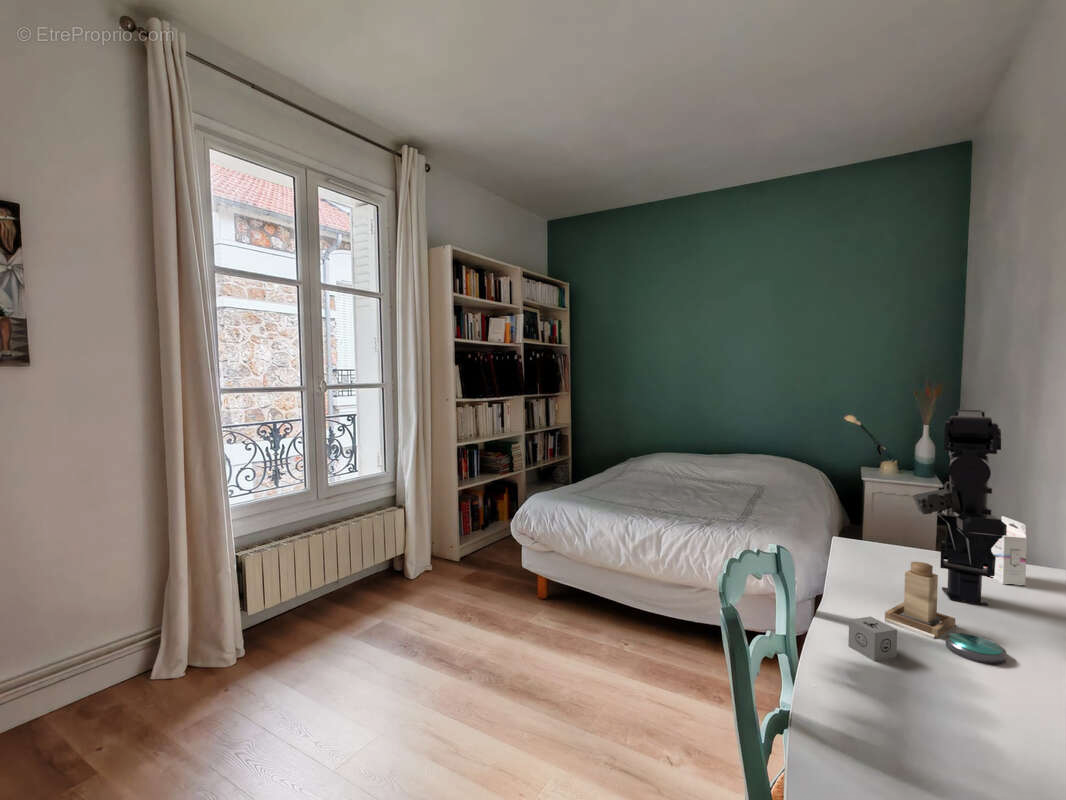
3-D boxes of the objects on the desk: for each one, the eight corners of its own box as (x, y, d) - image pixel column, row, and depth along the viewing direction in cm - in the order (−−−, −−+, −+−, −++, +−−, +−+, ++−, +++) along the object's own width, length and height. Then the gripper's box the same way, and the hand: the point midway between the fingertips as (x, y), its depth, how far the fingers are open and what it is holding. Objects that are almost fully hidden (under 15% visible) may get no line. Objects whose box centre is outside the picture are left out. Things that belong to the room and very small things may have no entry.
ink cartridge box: (977, 571, 126) (979, 514, 125) (1000, 573, 125) (1002, 515, 124) (1002, 584, 118) (1004, 523, 117) (1026, 586, 117) (1029, 524, 116)
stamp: (911, 613, 102) (912, 558, 102) (939, 622, 98) (941, 566, 97) (900, 618, 99) (902, 563, 99) (929, 628, 95) (931, 570, 95)
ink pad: (939, 636, 93) (940, 628, 93) (995, 646, 90) (995, 638, 90) (953, 657, 86) (953, 648, 86) (1014, 669, 82) (1015, 660, 82)
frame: (905, 608, 105) (905, 601, 105) (956, 625, 98) (956, 617, 97) (883, 620, 100) (883, 612, 99) (935, 639, 92) (935, 630, 92)
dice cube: (848, 646, 90) (849, 619, 90) (870, 643, 91) (870, 616, 91) (874, 661, 85) (874, 633, 85) (896, 657, 86) (897, 629, 86)
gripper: (906, 469, 110) (905, 539, 110) (930, 484, 93) (928, 566, 93) (971, 473, 105) (969, 546, 105) (1009, 490, 88) (1006, 577, 88)
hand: (966, 558), depth 98 cm, fingers open, 9 cm apart
